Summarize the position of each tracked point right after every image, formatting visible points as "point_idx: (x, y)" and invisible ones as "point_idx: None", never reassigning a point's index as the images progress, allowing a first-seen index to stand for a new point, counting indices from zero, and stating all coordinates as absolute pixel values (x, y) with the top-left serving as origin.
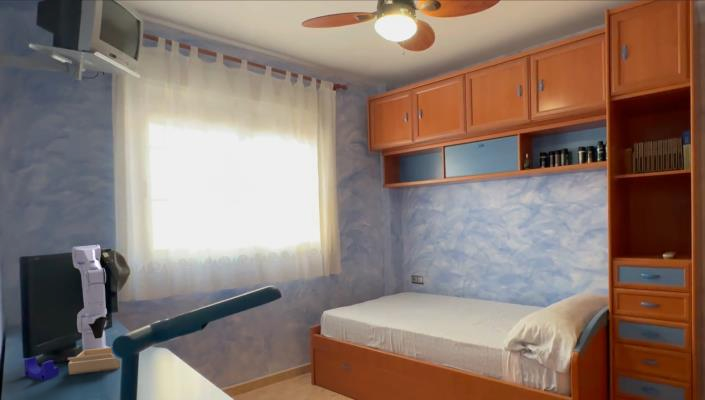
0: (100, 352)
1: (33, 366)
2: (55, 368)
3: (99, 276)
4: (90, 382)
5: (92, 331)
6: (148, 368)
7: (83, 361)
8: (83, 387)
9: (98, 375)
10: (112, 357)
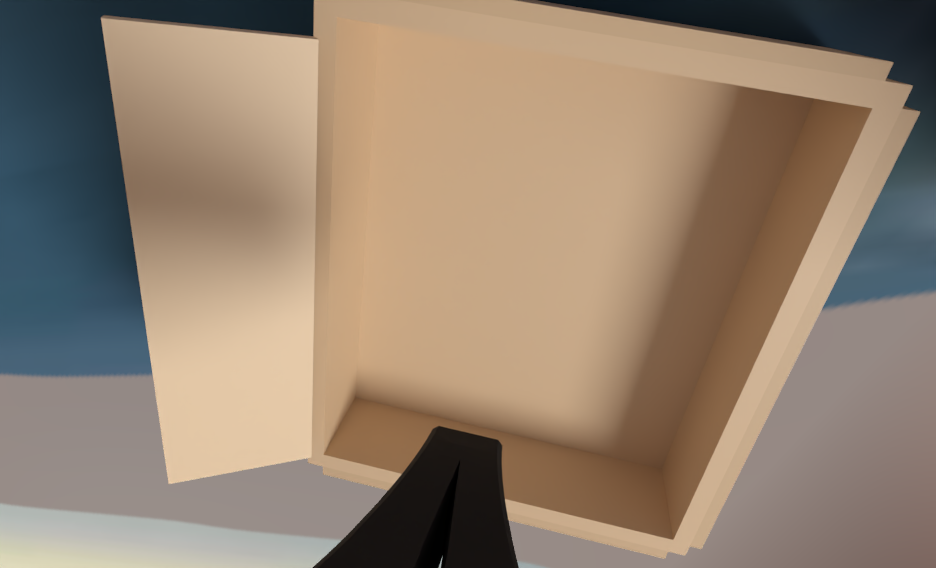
0: (768, 283)
1: None
2: None
3: None
4: (112, 230)
5: (368, 519)
6: (271, 542)
7: (324, 170)
8: (24, 194)
9: None
10: (659, 361)
